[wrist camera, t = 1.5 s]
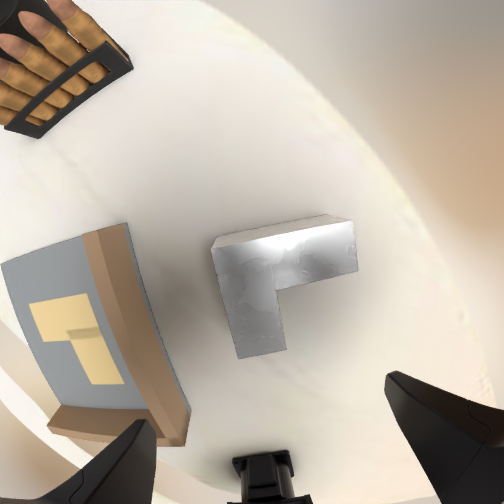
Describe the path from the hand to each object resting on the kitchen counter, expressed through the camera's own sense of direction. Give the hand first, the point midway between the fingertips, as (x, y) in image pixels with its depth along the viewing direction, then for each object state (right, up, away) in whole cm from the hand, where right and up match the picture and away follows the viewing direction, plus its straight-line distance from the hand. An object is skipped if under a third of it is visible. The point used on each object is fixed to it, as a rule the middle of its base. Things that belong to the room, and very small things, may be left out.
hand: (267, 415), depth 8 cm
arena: (-16, -2, +12) cm, 20 cm away
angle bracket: (+2, +4, +12) cm, 13 cm away
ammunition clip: (-15, +19, +8) cm, 26 cm away
